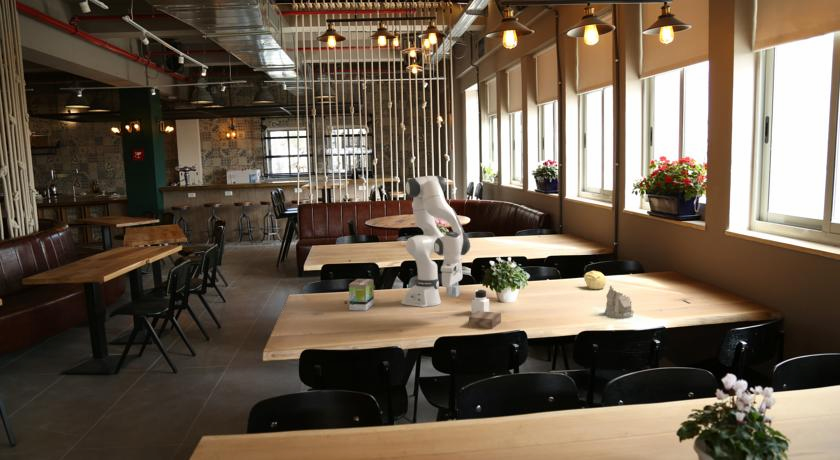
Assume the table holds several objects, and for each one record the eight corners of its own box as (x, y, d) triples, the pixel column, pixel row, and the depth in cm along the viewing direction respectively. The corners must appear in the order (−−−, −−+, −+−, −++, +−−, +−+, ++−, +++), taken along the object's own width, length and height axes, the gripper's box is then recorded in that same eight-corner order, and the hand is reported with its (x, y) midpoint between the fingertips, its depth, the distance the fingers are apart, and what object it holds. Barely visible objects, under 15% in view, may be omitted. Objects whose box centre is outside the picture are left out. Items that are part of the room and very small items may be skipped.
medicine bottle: (489, 312, 321) (489, 289, 319) (483, 315, 315) (483, 292, 313) (477, 310, 324) (476, 288, 323) (471, 313, 318) (471, 291, 317)
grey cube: (446, 296, 303) (446, 286, 302) (449, 293, 307) (449, 284, 307) (455, 297, 301) (455, 287, 300) (459, 294, 305) (459, 285, 305)
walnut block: (469, 326, 296) (468, 316, 295) (478, 320, 306) (478, 310, 306) (492, 329, 290) (492, 319, 290) (501, 323, 301) (500, 313, 300)
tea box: (367, 311, 330) (365, 284, 328) (349, 310, 332) (348, 283, 330) (374, 304, 344) (373, 278, 342) (357, 303, 346) (356, 278, 344)
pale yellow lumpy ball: (581, 287, 370) (581, 270, 369) (596, 285, 375) (596, 268, 374) (594, 291, 360) (594, 273, 359) (609, 289, 365) (610, 271, 364)
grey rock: (617, 319, 300) (619, 289, 299) (599, 312, 316) (600, 283, 315) (644, 317, 305) (646, 288, 304) (625, 311, 320) (626, 283, 319)
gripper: (453, 260, 312) (453, 287, 314) (439, 268, 294) (439, 296, 296) (465, 261, 310) (465, 288, 312) (451, 269, 291) (451, 297, 293)
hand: (452, 292), depth 304 cm, fingers closed on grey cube, 5 cm apart
